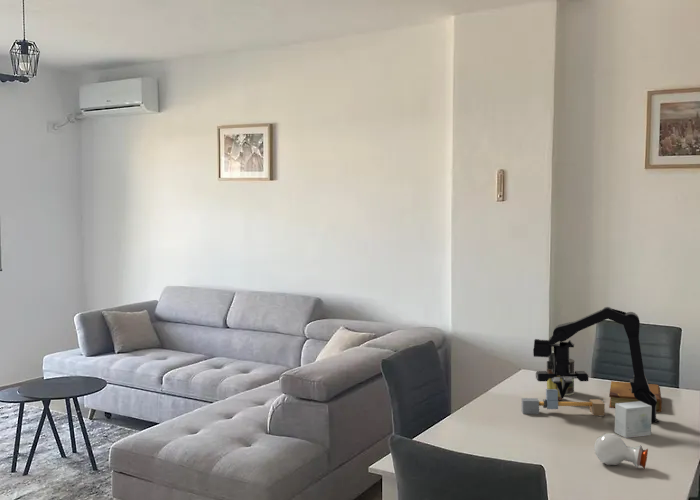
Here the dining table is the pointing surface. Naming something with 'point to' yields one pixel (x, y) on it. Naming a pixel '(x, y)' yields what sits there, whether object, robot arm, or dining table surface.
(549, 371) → the sauce bottle
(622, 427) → the skincare box
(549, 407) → the notched blue-grey block
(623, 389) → the diary
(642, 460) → the potion bottle
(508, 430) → the dining table surface
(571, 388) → the coffee can
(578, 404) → the rail
